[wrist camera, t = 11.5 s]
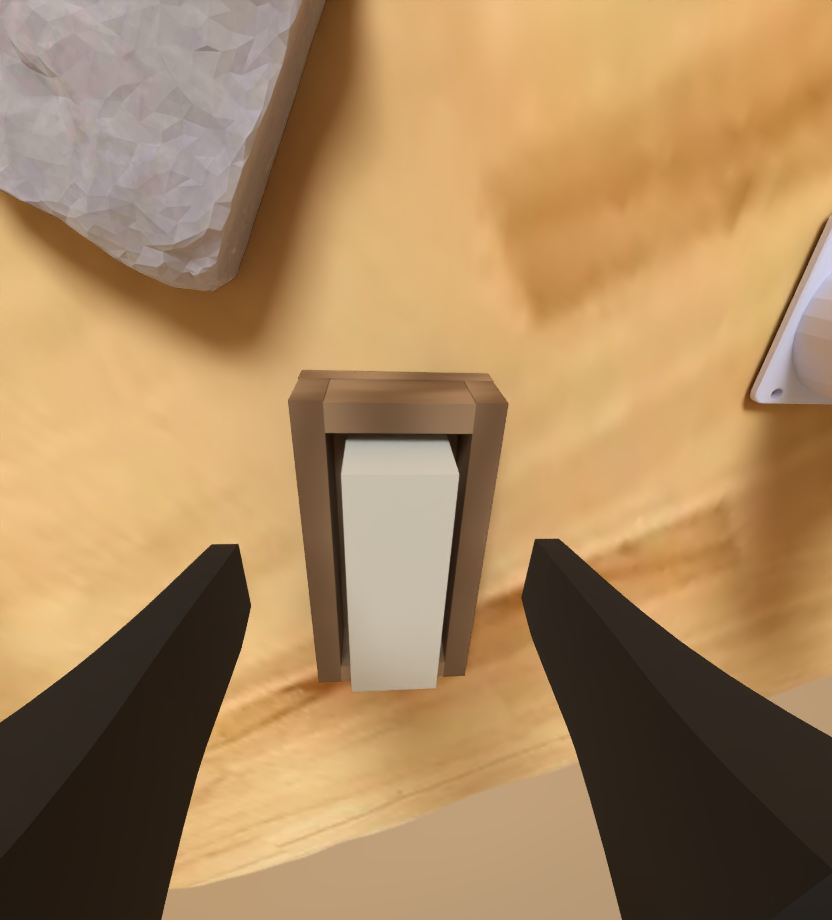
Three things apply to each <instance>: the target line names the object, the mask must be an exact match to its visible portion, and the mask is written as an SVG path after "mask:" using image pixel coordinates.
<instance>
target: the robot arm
mask: <svg viewBox="0 0 832 920" xmlns="http://www.w3.org/2000/svg"><path fill="white" fill-rule="evenodd" d="M774 390H775V392H774V393H773V394H772V392H773V391H774ZM771 394H772V395H771ZM750 398H751V399H752V400H753V401H755V402H757V403H761V404H832V214H831V216H830V217H829V219H828V222H827V224H826V226H825V228H824V230H823V233H822V235H821V237H820V239H819V241H818V244H817V246H816V248H815V250H814V253H813V255H812V257H811V259H810V261H809V264H808V266H807V268H806V270H805V272H804V275H803V277H802V279H801V281H800V283H799V286H798V288H797V290H796V292H795V295H794V297H793V299H792V301H791V303H790V306H789V308H788V310H787V312H786V314H785V317H784V319H783V321H782V323H781V326H780V328H779V330H778V332H777V334H776V337H775V339H774V341H773V343H772V345H771V348H770V350H769V352H768V354H767V357H766V359H765V361H764V363H763V365H762V368H761V370H760V372H759V374H758V376H757V379H756V381H755V383H754V385H753V388H752V390H751V393H750ZM521 598H522V602H523V606H524V610H525V614H526V618H527V622H528V626H529V629H530V633H531V637H532V639H533V642H534V644H535V647H536V650H537V652H538V655H539V657H540V660H541V662H542V665H543V668H544V670H545V673H546V675H547V678H548V680H549V683H550V685H551V688H552V690H553V693H554V695H555V698H556V700H557V703H558V705H559V708H560V710H561V713H562V715H563V718H564V720H565V723H566V725H567V728H568V731H569V733H570V736H571V739H572V742H573V745H574V747H575V750H576V754H577V757H578V760H579V764H580V767H581V770H582V773H583V777H584V780H585V784H586V787H587V790H588V794H589V797H590V801H591V804H592V808H593V811H594V815H595V818H596V822H597V826H598V829H599V833H600V837H601V840H602V844H603V847H604V851H605V855H606V859H607V863H608V867H609V871H610V874H611V878H612V882H613V886H614V890H615V894H616V898H617V902H618V906H619V910H620V913H621V918H622V920H832V737H830V736H829V735H827V734H825V733H823V732H822V731H820V730H818V729H816V728H815V727H813V726H811V725H809V724H808V723H806V722H804V721H802V720H801V719H799V718H797V717H796V716H794V715H792V714H790V713H789V712H787V711H785V710H784V709H782V708H780V707H779V706H777V705H775V704H774V703H772V702H771V701H769V700H767V699H766V698H764V697H763V696H761V695H759V694H758V693H756V692H755V691H753V690H751V689H750V688H748V687H746V686H745V685H743V684H742V683H740V682H739V681H737V680H736V679H734V678H733V677H731V676H730V675H728V674H726V673H725V672H723V671H722V670H721V669H719V668H718V667H716V666H715V665H713V664H712V663H711V662H709V661H708V660H706V659H705V658H703V657H702V656H700V655H699V654H698V653H696V652H695V651H693V650H692V649H690V648H689V647H688V646H686V645H685V644H684V643H682V642H681V641H679V640H678V639H677V638H675V637H674V636H673V635H672V634H670V633H669V632H668V631H666V630H665V629H664V628H663V627H661V626H660V625H659V624H657V623H656V622H655V621H654V620H652V619H651V618H650V617H648V616H647V615H646V614H645V613H644V612H642V611H641V610H640V609H639V608H637V607H636V606H635V605H634V604H633V603H631V602H630V601H629V600H628V599H627V598H625V597H624V596H623V595H622V594H621V593H620V592H618V591H617V590H616V589H615V588H614V587H613V586H612V585H610V584H609V583H608V582H607V581H606V580H605V579H604V578H602V577H601V576H600V575H599V574H598V573H597V572H596V571H595V570H593V569H592V568H591V567H590V566H589V565H588V564H587V563H586V562H585V561H583V560H582V559H581V558H580V557H579V556H578V555H577V554H576V553H574V552H573V551H572V550H571V549H570V548H569V547H568V546H567V545H565V544H564V543H563V542H562V541H561V540H559V539H535V541H534V546H533V550H532V554H531V559H530V563H529V567H528V572H527V576H526V580H525V584H524V589H523V593H522V597H521ZM250 608H251V603H250V598H249V593H248V588H247V583H246V579H245V574H244V569H243V564H242V559H241V554H240V549H239V545H238V544H214V545H211V546H210V547H209V548H207V549H206V550H205V551H204V552H203V553H202V554H201V555H200V556H199V557H198V558H197V559H196V560H195V561H194V562H193V563H192V564H190V565H189V566H188V567H187V568H186V569H185V570H184V571H183V572H182V573H181V574H180V575H179V576H178V577H177V578H176V579H175V580H174V581H173V582H172V583H171V584H170V585H169V586H168V587H167V588H166V589H164V590H163V591H162V592H161V593H160V594H159V595H158V596H157V597H156V598H155V599H154V600H153V601H152V602H150V603H149V604H148V605H147V606H146V607H145V608H144V609H143V610H142V611H141V612H140V613H139V614H138V615H136V616H135V617H134V618H133V619H132V620H131V621H130V622H129V623H127V624H126V625H125V626H124V627H123V628H122V629H120V630H119V631H118V632H117V633H116V634H115V635H113V636H112V637H111V638H110V639H109V640H108V641H106V642H105V643H104V644H103V645H102V646H101V647H100V648H98V649H97V650H96V651H95V652H94V653H92V654H91V655H90V656H89V657H88V658H86V659H85V660H84V661H83V662H81V663H80V664H79V665H78V666H76V667H75V668H74V669H72V670H71V671H70V672H69V673H67V674H66V675H65V676H64V677H62V678H61V679H60V680H58V681H57V682H56V683H54V684H53V685H52V686H50V687H49V688H48V689H46V690H45V691H44V692H42V693H41V694H40V695H38V696H37V697H36V698H34V699H33V700H32V701H30V702H29V703H27V704H26V705H25V706H23V707H22V708H21V709H19V710H18V711H16V712H15V713H13V714H12V715H10V716H9V717H8V718H6V719H5V720H3V721H2V722H0V920H161V918H162V914H163V909H164V905H165V900H166V896H167V892H168V888H169V884H170V880H171V876H172V871H173V867H174V863H175V859H176V855H177V851H178V847H179V843H180V839H181V835H182V831H183V827H184V823H185V819H186V816H187V812H188V808H189V804H190V800H191V797H192V793H193V789H194V785H195V781H196V778H197V774H198V771H199V768H200V764H201V761H202V758H203V755H204V752H205V749H206V746H207V743H208V740H209V738H210V735H211V732H212V729H213V727H214V724H215V721H216V718H217V715H218V713H219V710H220V707H221V704H222V702H223V699H224V696H225V693H226V690H227V688H228V685H229V682H230V679H231V676H232V674H233V671H234V668H235V665H236V662H237V659H238V657H239V654H240V651H241V648H242V644H243V640H244V635H245V631H246V627H247V622H248V618H249V613H250Z"/></svg>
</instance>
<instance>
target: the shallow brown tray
mask: <svg viewBox="0 0 832 920" xmlns="http://www.w3.org/2000/svg"><path fill="white" fill-rule="evenodd" d="M493 382H494V381H493V380H492V378H491V377H490V376H489V374H477V373H426V372H375V371H323V370H302V371H301V373H300V375H299V377H298V382H297V384H296V386H295V388H294V390H293V392H292V394H291V396H290V398H289V400H288V405H289V414H290V423H291V432H292V441H293V450H294V460H295V469H296V478H297V487H298V496H299V505H300V514H301V524H302V533H303V542H304V551H305V560H306V569H307V578H308V588H309V597H310V606H311V615H312V624H313V633H314V643H315V652H316V661H317V670H318V679H319V682H339V681H348V680H351V666H350V646H349V626H348V605H347V585H346V565H345V544H344V524H343V504H342V483H341V472H342V465H343V458H344V451H345V444H346V438H347V433H412V434H446V435H447V438H448V441H449V444H450V447H451V450H452V453H453V456H454V459H455V462H456V465H457V468H458V472H459V482H458V491H457V500H456V509H455V518H454V527H453V536H452V546H451V555H450V564H449V573H448V582H447V591H446V600H445V609H444V618H443V627H442V637H441V646H440V655H439V664H438V673H437V676H443V677H448V676H465V670H466V664H467V658H468V652H469V646H470V639H471V633H472V627H473V621H474V614H475V608H476V602H477V596H478V590H479V583H480V577H481V571H482V565H483V559H484V552H485V546H486V540H487V534H488V528H489V521H490V515H491V509H492V503H493V496H494V490H495V484H496V478H497V472H498V465H499V459H500V453H501V447H502V441H503V434H504V428H505V422H506V416H507V410H508V402H507V401H506V399H505V398H504V396H503V395H502V394H501V392H500V391H499V389H498V388H497V387H496V385H495V384H494V383H493Z"/></svg>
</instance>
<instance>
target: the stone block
mask: <svg viewBox="0 0 832 920" xmlns="http://www.w3.org/2000/svg"><path fill="white" fill-rule="evenodd" d="M325 1H326V0H0V190H1V191H3V192H5V193H7V194H9V195H10V196H12V197H14V198H17V199H19V200H21V201H23V202H26V203H28V204H30V205H32V206H34V207H37V208H39V209H41V210H43V211H45V212H47V213H49V214H51V215H53V216H55V217H57V218H59V219H60V220H61V221H63V222H64V223H65V224H67V225H68V226H69V227H71V228H72V229H73V230H75V231H76V232H77V233H79V234H80V235H82V236H83V237H85V238H86V239H88V240H89V241H91V242H92V243H94V244H95V245H97V246H98V247H99V248H101V249H102V250H104V251H105V252H106V253H108V254H109V255H110V256H112V257H113V258H115V259H116V260H118V261H119V262H121V263H123V264H124V265H126V266H128V267H130V268H132V269H134V270H136V271H138V272H139V273H141V274H143V275H146V276H148V277H151V278H154V279H156V280H158V281H160V282H162V283H164V284H166V285H168V286H171V287H175V288H183V289H195V290H200V291H215V290H216V289H218V288H219V287H221V286H222V285H224V284H227V283H228V282H230V281H231V280H232V279H234V278H235V277H236V275H237V273H238V271H239V268H240V264H241V260H242V257H243V255H244V253H245V250H246V247H247V244H248V241H249V237H250V234H251V231H252V227H253V224H254V220H255V217H256V215H257V212H258V209H259V206H260V203H261V200H262V197H263V194H264V190H265V187H266V184H267V180H268V177H269V174H270V171H271V168H272V165H273V162H274V159H275V156H276V154H277V151H278V148H279V145H280V142H281V139H282V135H283V132H284V129H285V126H286V123H287V119H288V116H289V113H290V110H291V107H292V104H293V101H294V99H295V96H296V92H297V89H298V85H299V82H300V79H301V76H302V73H303V69H304V66H305V63H306V59H307V56H308V52H309V49H310V46H311V43H312V40H313V37H314V34H315V32H316V29H317V26H318V23H319V20H320V17H321V14H322V11H323V8H324V5H325Z"/></svg>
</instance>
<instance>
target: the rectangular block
mask: <svg viewBox="0 0 832 920" xmlns="http://www.w3.org/2000/svg"><path fill="white" fill-rule="evenodd" d="M458 482H459V472H458V468H457V465H456V462H455V459H454V456H453V453H452V450H451V447H450V444H449V441H448V438H447V435H446V434H412V433H347V438H346V444H345V451H344V458H343V465H342V472H341V483H342V504H343V524H344V544H345V565H346V585H347V605H348V626H349V646H350V666H351V687H352V692H366V691H387V690H407V689H428V688H436V682H437V673H438V664H439V655H440V646H441V637H442V627H443V618H444V609H445V600H446V591H447V582H448V573H449V564H450V555H451V546H452V536H453V527H454V518H455V509H456V500H457V491H458Z"/></svg>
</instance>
